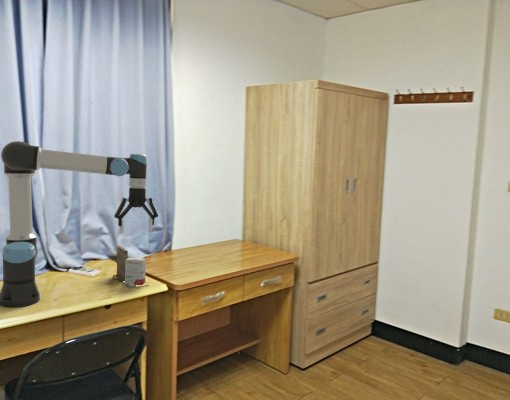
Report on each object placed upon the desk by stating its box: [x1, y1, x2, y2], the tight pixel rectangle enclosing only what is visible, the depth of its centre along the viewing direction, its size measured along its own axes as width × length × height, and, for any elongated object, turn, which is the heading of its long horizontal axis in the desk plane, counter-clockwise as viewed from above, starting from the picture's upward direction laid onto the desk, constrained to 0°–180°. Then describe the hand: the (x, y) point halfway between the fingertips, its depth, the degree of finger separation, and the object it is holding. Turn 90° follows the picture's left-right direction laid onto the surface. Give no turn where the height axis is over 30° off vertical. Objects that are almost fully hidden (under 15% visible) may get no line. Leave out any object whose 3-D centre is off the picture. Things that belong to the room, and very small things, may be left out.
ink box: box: [124, 257, 146, 285], centre depth 219 cm, size 9×5×12 cm, turn 84°
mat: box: [122, 282, 137, 289], centre depth 220 cm, size 10×10×1 cm
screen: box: [112, 245, 129, 283], centre depth 227 cm, size 3×12×15 cm, turn 33°
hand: (136, 232), depth 218 cm, fingers open, 13 cm apart
